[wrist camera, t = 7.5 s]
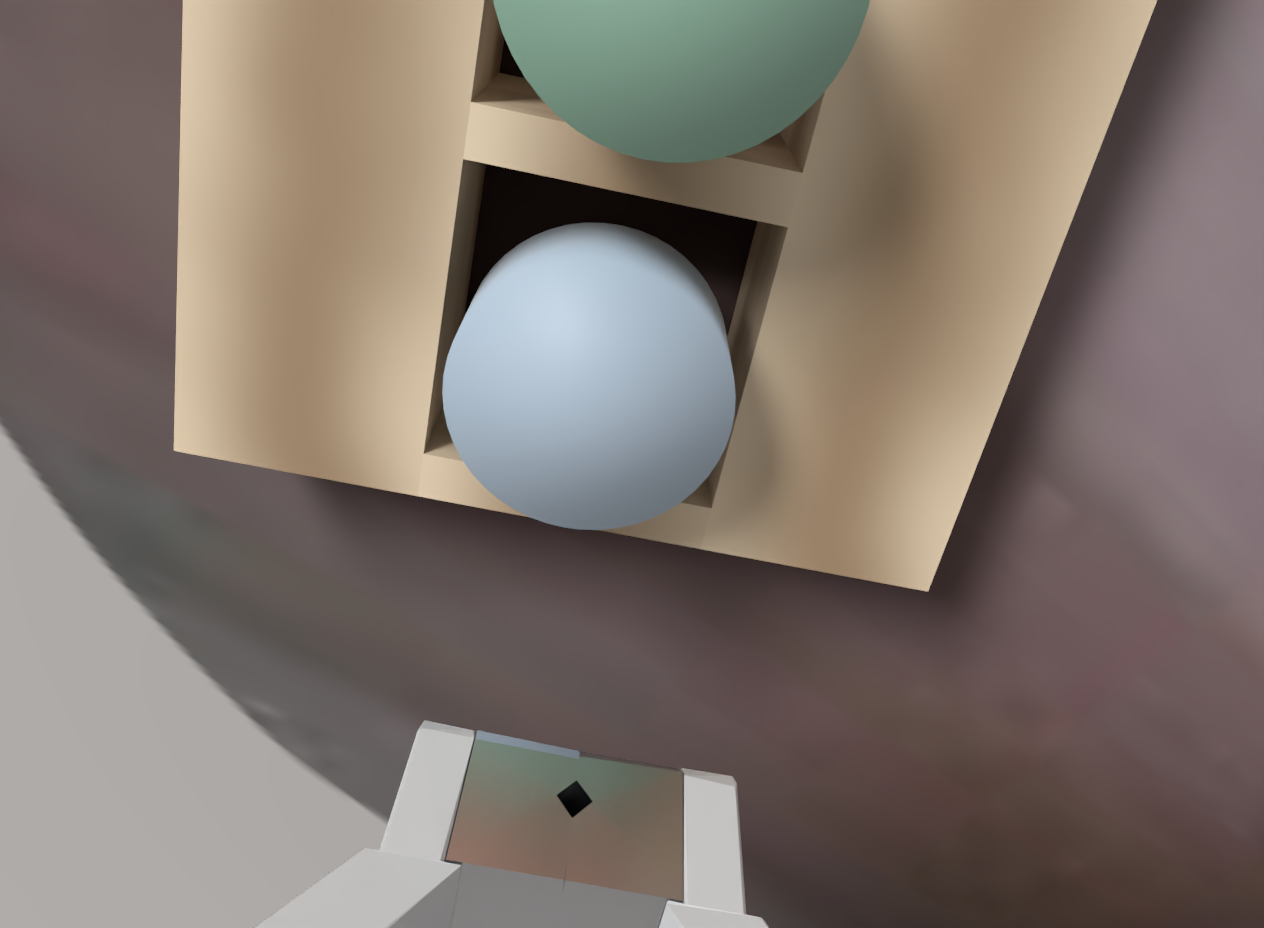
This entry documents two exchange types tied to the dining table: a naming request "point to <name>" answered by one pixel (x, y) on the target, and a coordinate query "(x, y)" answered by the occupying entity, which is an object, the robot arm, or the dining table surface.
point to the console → (734, 185)
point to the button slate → (591, 378)
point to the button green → (680, 67)
